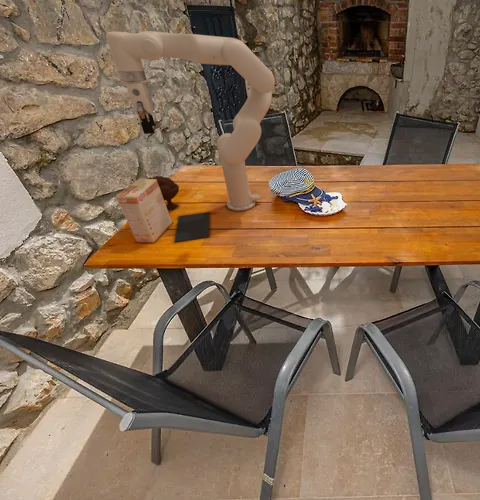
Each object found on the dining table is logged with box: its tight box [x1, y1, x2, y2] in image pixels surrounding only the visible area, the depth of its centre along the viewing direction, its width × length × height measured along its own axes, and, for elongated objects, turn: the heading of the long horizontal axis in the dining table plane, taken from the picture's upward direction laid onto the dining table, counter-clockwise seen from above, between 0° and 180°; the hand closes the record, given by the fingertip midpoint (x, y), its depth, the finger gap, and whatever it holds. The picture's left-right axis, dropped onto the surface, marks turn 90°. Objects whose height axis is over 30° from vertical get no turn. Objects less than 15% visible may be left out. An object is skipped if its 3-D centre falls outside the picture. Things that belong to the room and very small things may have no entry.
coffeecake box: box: [115, 177, 173, 244], centre depth 120 cm, size 15×7×20 cm, turn 178°
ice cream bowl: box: [151, 175, 180, 211], centre depth 138 cm, size 11×11×15 cm
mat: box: [174, 211, 210, 243], centre depth 130 cm, size 12×20×1 cm, turn 19°
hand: (150, 129), depth 115 cm, fingers open, 9 cm apart
